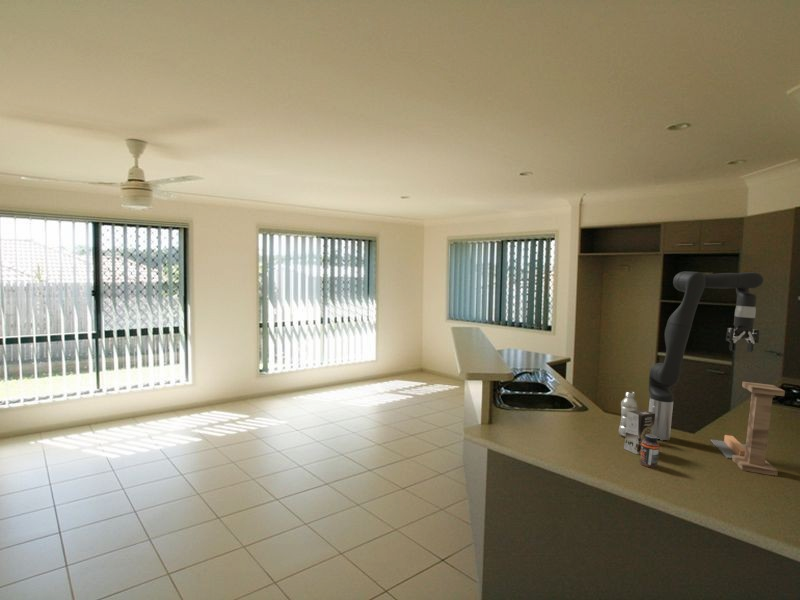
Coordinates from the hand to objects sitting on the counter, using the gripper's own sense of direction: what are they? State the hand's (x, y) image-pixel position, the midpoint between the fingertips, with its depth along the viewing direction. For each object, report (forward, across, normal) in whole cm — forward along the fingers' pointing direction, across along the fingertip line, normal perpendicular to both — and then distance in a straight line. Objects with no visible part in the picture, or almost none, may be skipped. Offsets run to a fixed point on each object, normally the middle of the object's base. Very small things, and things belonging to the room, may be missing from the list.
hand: (740, 351), depth 211 cm
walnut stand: (+40, -20, -33) cm, 56 cm away
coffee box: (+40, -58, -18) cm, 73 cm away
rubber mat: (+40, -13, -18) cm, 46 cm away
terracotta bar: (+40, -13, -17) cm, 45 cm away
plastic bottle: (+40, -53, -2) cm, 67 cm away
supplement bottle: (+40, -63, -32) cm, 81 cm away
